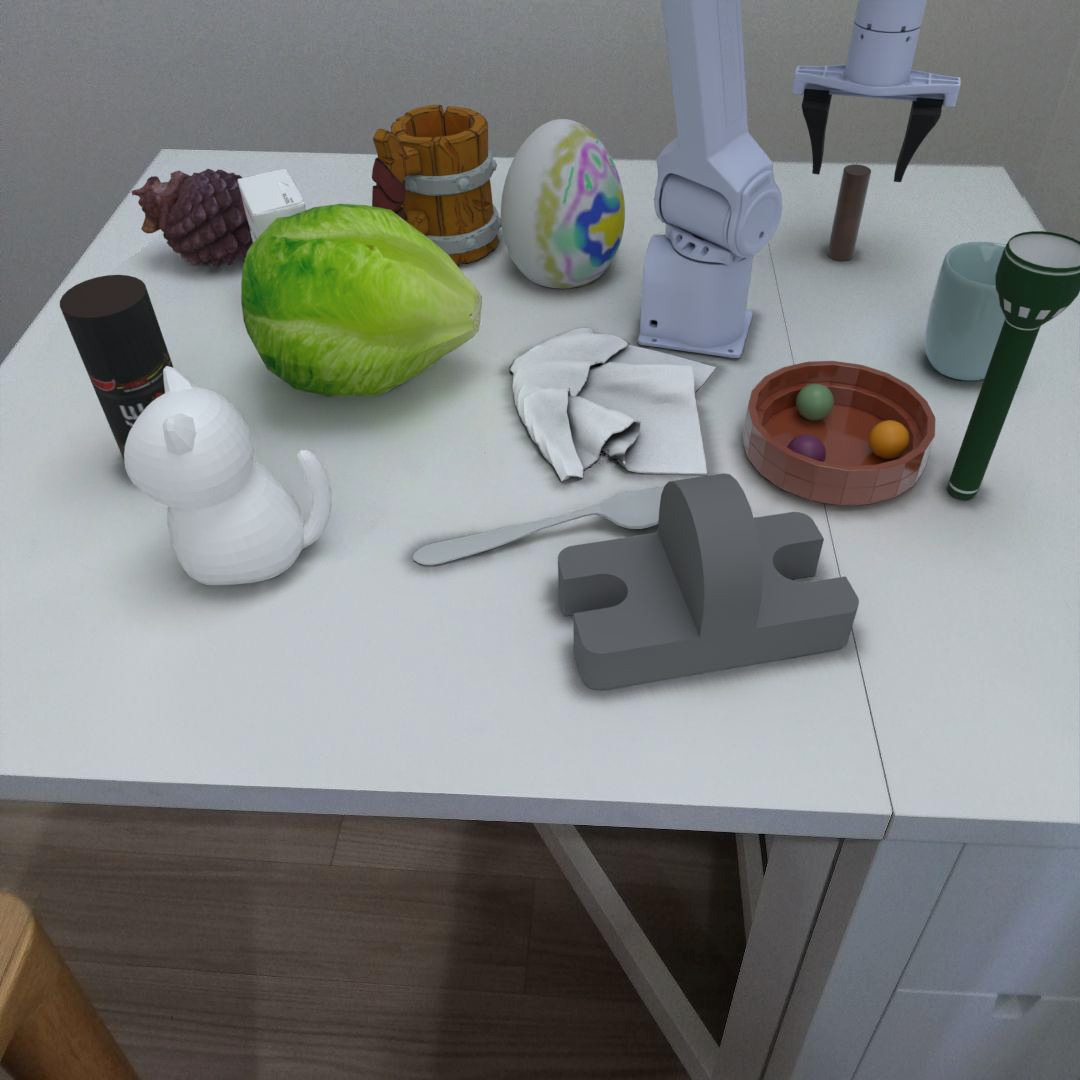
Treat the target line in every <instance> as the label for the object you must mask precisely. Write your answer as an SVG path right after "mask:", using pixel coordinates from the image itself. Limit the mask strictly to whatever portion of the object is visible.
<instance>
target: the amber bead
mask: <svg viewBox="0 0 1080 1080" xmlns="http://www.w3.org/2000/svg"><path fill="white" fill-rule="evenodd" d="M908 445H909V433H908V431H907V429H906V428H905V427H904V426H903V425H902V424H901V423H899V422H897V421H892V420H887V421H883V422H880V423H879V424H877V425H876V426H875V427H874V428H873V429H872V430H871V432H870V435H869V446H870V448H871V450H872V452H873V453H874V454H875V455H877V456H878V457H880V458H883V459H893V458H896V457H899V456H900V455H902V454H903V453H904V452H905V451H906V449H907V447H908Z"/></svg>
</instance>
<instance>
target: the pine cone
mask: <svg viewBox="0 0 1080 1080" xmlns="http://www.w3.org/2000/svg"><path fill="white" fill-rule="evenodd" d="M240 178H243V177H242V176H241V174H236V173H235V172H227V171H225V170H223V169H216V171H215V170H213V169H211V168H206V169H205V170H202V171H200V172H193V173H192V174H191V175H190V174H187V173H185V172H184V171H181V170H175V171H173V172H170V179H169V180H168V181H163V182H162V181H161V179H160V178H159V177H158V176H154V175H153V176H150V177H148V178H147V180H146V182H145V183H144V184H143V186H142V187H140V188H136V189H134V190H131V195H132V196H136V197H138V198H139V199H138V201H137V203H138V205H139V206H140V207H141V211H142V212H143V213H144V220H143V223H142V226H141V228H140V229H141V231H142V233H145V234H153V233H156V232H158V231H162V237H163V238H164V240H166V244H167V245H168V247H170V248H171V249H172V251H173V252H174V253H176V254H179V256H180V257H181V258H182V259H183V260H185V261H187V262H188V264H189V265H191V266H198V265H200V264H201V265H202V266H205V265H206V266H207V265H209V264H210V265H211V266H212V268H218V267H220V266H221V265H222V264H223V263H225V264H226V265H228V266H229V265H233V264H234V262H235V259H237V258H239V259H240V260H245V258H246V254H247V251H248V250H249V248H250V247H251V245H252V244H253V241H252V237H251V233H250V228H249V224H248V220H247V216H246V212H245V208H244V204H243V200H242V196H241V192H240V188H239V184H238V179H240Z"/></svg>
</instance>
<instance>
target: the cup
mask: <svg viewBox="0 0 1080 1080" xmlns="http://www.w3.org/2000/svg"><path fill="white" fill-rule="evenodd" d="M1006 244H1007V243H1001V242H994V241H970V242H963V243H959V244H956V245H953V247H951V248H949V250H948V251H947V252H946V253H945V255H944V257H943V259H942V263H941V266H940V269H939V272H938V275H937V279H936V282H935V287H934V288H933V289H934V290H933V294H932V297H931V301H930V305H929V309H928V313H927V318H926V324H925V331H924V351H925V354H926V357H927V360H928V362H929V363H930V365H931V366H932V368H933V369H935V370H936V371H937V372H938V373H940V374H941V375H943V376H945V377H948V378H951V379H955V380H958V381H970V382H971V381H973V382H974V381H981V380H984V378H985V375H986V372H987V370H988V367H989V364H990V361H991V358H992V355H993V352H994V349H995V347H996V344H997V341H998V338H999V335H1000V332H1001V329H1002V326H1003V324H1004V321H1005V316H1004V313H1003V311H1002V309H1001V307H1000V305H999V303H998V300H997V296H996V282H995V275H996V272H997V268H998V265H999V262H1000V259H1001V256H1002V253H1003V250H1004V249H1005V247H1006Z"/></svg>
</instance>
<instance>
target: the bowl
mask: <svg viewBox="0 0 1080 1080" xmlns="http://www.w3.org/2000/svg"><path fill="white" fill-rule="evenodd" d="M810 384H821V385H824V386H825V387H827V388H828V389H829V390H830V391H831V393H832V395H833V398H834V405H833V409H832V411H831V412H830V414H829V415H828V416H827V417H825V418H823V419H821V420H817V421H811V420H807V419H805V418H803V417H802V416H801V415H800V414H799V412H798V411H797V408H796V398H797V395H798V393H799V392H800V391H801V390H802V389H803V388H804V387H805V386H807V385H810ZM887 420H892V421H897V422H899V423H901V424H902V425H903V426H904V427H905V428H906V429H907V431H908V433H909V445H908V447H907V449H906V451H905V452H904V453H903V454H902V455H900V456H899V457H896V458H893V459H883V458H880V457H878V456H877V455H875V454H874V453H873V452H872V450H871V448H870V446H869V435H870V432H871V430H872V429H873V428H874V427H875V426H876V425H877V424H879V423H880V422H883V421H887ZM806 434H807V435H813V436H815V437H817V438H818V439H820V440H821V441H822V443H823V444H824V446H825V450H826V458H825V461H824V462H822V461H817V460H815V459H812V458H809V457H807V456H804V455H801V454H799V453H796V452H794V451H792V450H790V449H789V448H787V446H788V444H789V443H790V442H791V441H792V440H793V439H794V438H795V437H797V436H800V435H806ZM935 437H936V416H935V414H934V412H933V410H932V409H931V407H930V404H929V402H928V401H927V400H926V398H924V397H923V396H922V395H921V394H920V393H919V392H918V391H917V390H916V389H915V388H914V387H912V385H910V383H909V384H908V383H907V382H905V381H903V380H901V379H900V378H898V377H896V376H894V375H892V374H890V373H888V372H885V371H883V370H879V369H877V368H874V367H870V366H867V365H864V364H858V363H854V362H853V363H852V362H846V361H845V362H844V361H838V360H816V361H815V360H814V361H804V362H800V363H795V364H791V365H787V366H783V367H781V368H779V369H777V370H775V371H773V372H771V373H769V374H767V375H765V376H764V377H763V378H762V379H761V380H760V381H759V382H758V383H757V384H756V385H755V386H754V388H753V389H752V390H751V392H750V396H749V400H748V404H747V409H746V416H745V421H744V429H743V436H742V443H743V446H744V447H743V448H744V451H745V454H746V457H747V459H748V461H749V462H750V463H751V464H752V465H753V467H754V468H755V469H756V471H757V472H758V473H759V475H761V476H762V477H763V478H765V479H766V480H768V481H769V482H771V483H772V484H774V485H775V486H777V487H778V488H779V489H781V490H783V491H786V492H789V493H790V494H793V495H795V496H798V497H799V498H803V499H806V500H809V501H813V502H817V503H822V504H828V505H835V506H857V505H858V506H859V505H871V504H875V503H879V502H883V501H887V500H890V499H894V498H896V497H898V496H899V495H901V494H902V493H904V492H907V490H909V489H911V488H912V487H913V486H915V485H916V484H917V481H918V480H919V479H920V477H921V476H922V474H923V472H924V471H925V468H926V465H927V462H928V459H929V455H930V453H931V449H932V446H933V443H934V440H935Z"/></svg>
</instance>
